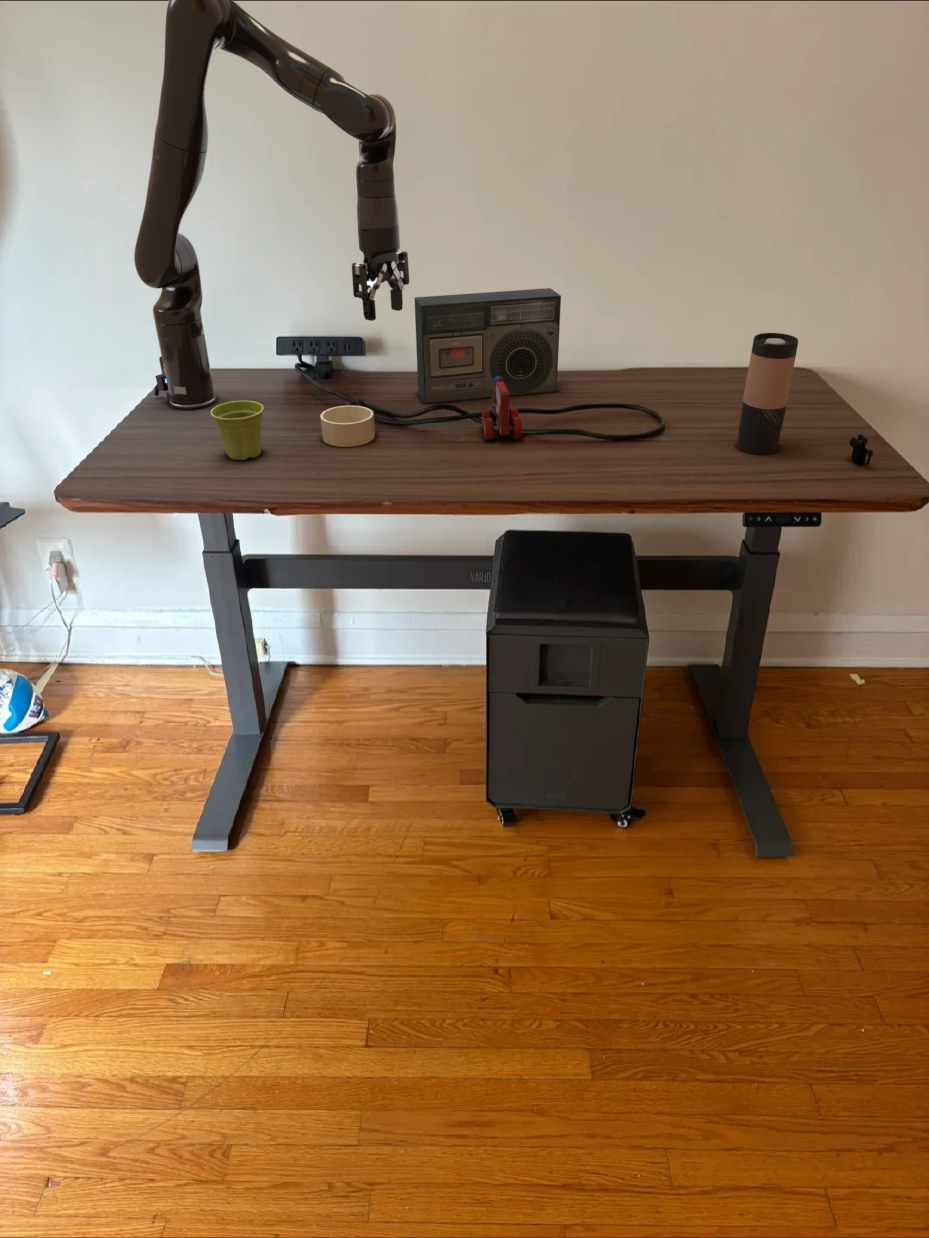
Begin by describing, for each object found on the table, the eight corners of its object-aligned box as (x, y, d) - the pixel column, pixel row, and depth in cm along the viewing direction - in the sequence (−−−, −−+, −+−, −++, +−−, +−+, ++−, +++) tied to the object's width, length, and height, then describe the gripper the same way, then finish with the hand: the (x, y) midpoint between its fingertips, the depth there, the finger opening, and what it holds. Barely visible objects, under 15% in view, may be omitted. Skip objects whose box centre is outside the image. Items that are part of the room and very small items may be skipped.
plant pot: (258, 466, 161) (251, 420, 157) (209, 462, 163) (201, 416, 158) (277, 446, 169) (271, 402, 164) (230, 443, 171) (223, 399, 166)
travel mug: (779, 442, 168) (799, 334, 157) (777, 457, 162) (798, 346, 151) (737, 437, 170) (754, 331, 160) (733, 452, 164) (751, 342, 154)
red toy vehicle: (515, 421, 179) (516, 369, 173) (522, 444, 169) (524, 390, 163) (480, 422, 179) (480, 371, 173) (486, 446, 168) (486, 392, 162)
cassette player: (424, 403, 188) (421, 305, 177) (418, 393, 194) (414, 297, 183) (556, 391, 194) (560, 295, 183) (546, 381, 199) (550, 288, 189)
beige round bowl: (311, 440, 172) (309, 417, 169) (345, 424, 179) (343, 402, 176) (352, 450, 167) (350, 427, 165) (385, 433, 174) (383, 411, 172)
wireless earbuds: (871, 470, 157) (878, 443, 154) (857, 471, 157) (864, 444, 154) (851, 455, 163) (857, 428, 160) (838, 455, 163) (844, 429, 160)
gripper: (385, 215, 169) (390, 304, 178) (336, 227, 159) (344, 321, 168) (418, 218, 165) (421, 309, 174) (369, 230, 155) (376, 326, 164)
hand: (383, 315), depth 171 cm, fingers open, 8 cm apart
